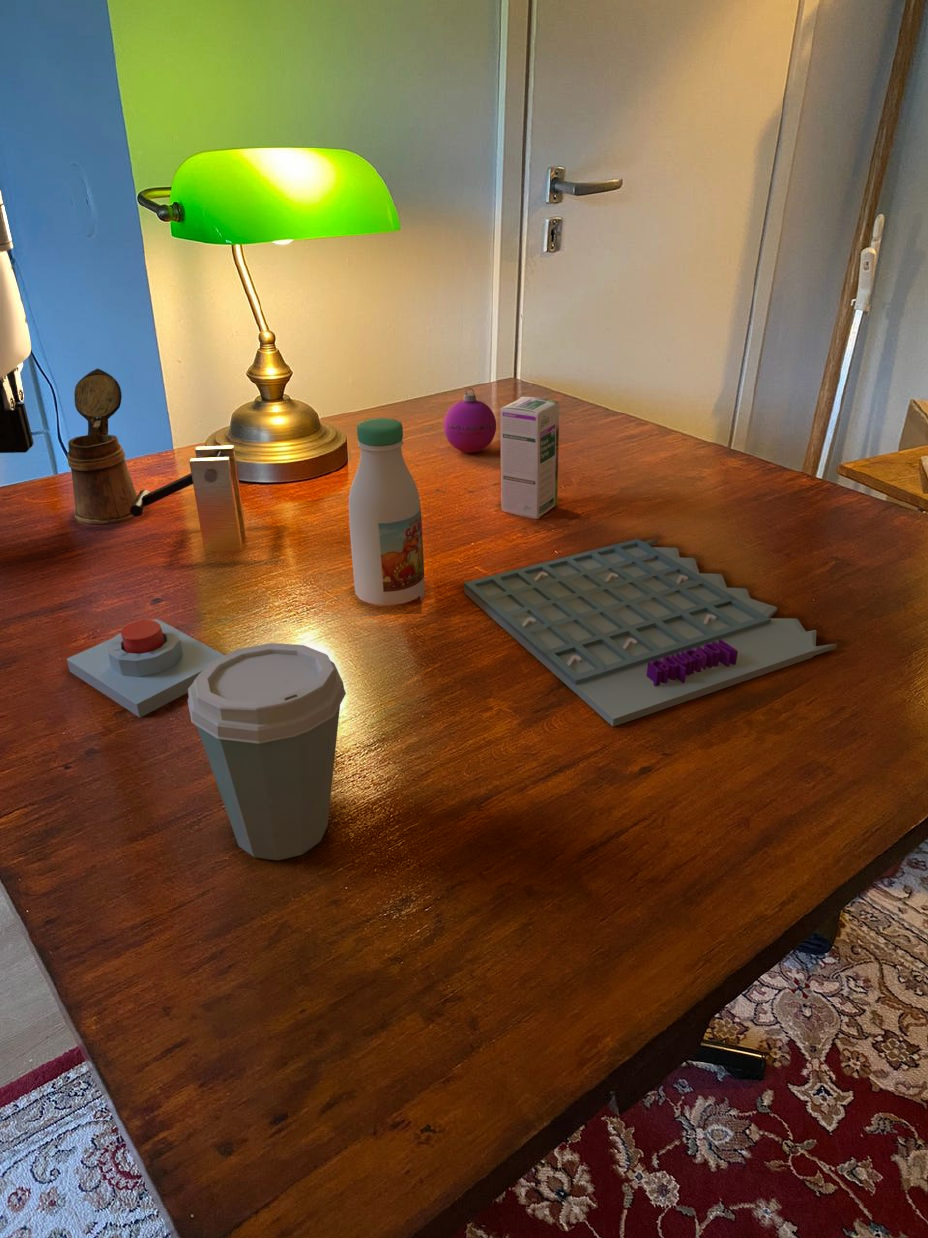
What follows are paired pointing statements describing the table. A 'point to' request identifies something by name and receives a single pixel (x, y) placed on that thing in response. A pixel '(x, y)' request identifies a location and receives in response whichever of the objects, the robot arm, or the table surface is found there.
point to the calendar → (640, 627)
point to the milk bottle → (385, 519)
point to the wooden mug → (99, 456)
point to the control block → (144, 670)
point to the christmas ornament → (470, 424)
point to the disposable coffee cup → (271, 742)
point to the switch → (162, 492)
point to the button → (142, 636)
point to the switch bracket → (218, 499)
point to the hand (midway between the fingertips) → (13, 449)
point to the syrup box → (529, 456)
